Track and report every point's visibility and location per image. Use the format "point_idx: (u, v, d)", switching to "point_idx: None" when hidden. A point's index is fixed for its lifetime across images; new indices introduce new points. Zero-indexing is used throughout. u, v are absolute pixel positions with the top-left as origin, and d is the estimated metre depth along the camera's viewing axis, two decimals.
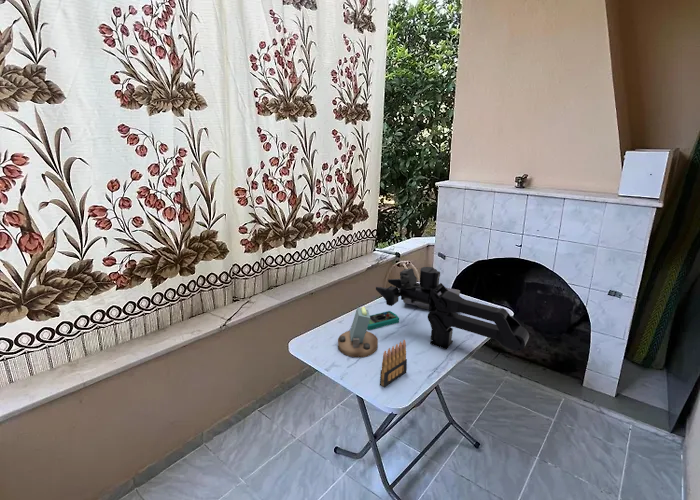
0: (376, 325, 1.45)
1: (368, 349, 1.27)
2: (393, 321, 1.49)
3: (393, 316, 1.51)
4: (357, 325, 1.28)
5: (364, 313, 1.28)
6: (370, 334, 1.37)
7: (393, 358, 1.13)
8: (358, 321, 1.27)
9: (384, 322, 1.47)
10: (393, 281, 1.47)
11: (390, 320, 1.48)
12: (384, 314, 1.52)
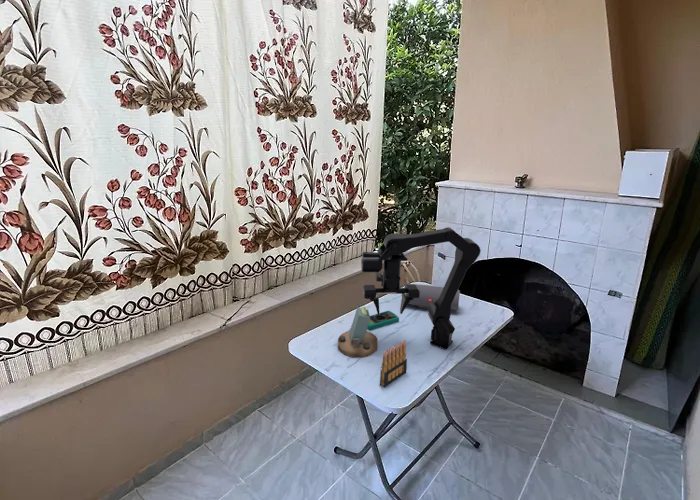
0: (377, 325, 1.45)
1: (368, 349, 1.27)
2: (393, 321, 1.49)
3: (393, 316, 1.51)
4: (357, 325, 1.28)
5: (364, 313, 1.28)
6: (370, 334, 1.37)
7: (393, 358, 1.13)
8: (358, 321, 1.27)
9: (384, 322, 1.47)
10: (400, 307, 1.31)
11: (390, 320, 1.48)
12: (383, 314, 1.53)
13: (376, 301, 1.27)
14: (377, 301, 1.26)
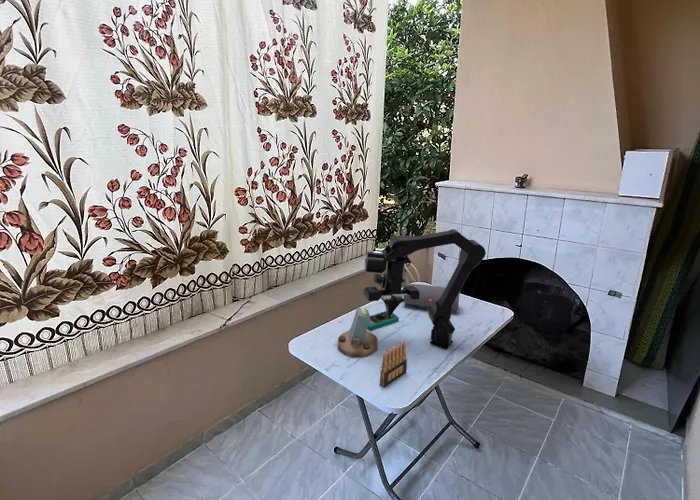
0: (377, 325, 1.45)
1: (368, 349, 1.27)
2: (393, 320, 1.49)
3: (392, 315, 1.51)
4: (357, 325, 1.28)
5: (364, 313, 1.28)
6: (370, 334, 1.37)
7: (393, 358, 1.13)
8: (358, 321, 1.27)
9: (384, 322, 1.47)
10: None
11: (390, 320, 1.48)
12: (383, 314, 1.53)
13: (390, 303, 1.27)
14: (391, 303, 1.27)
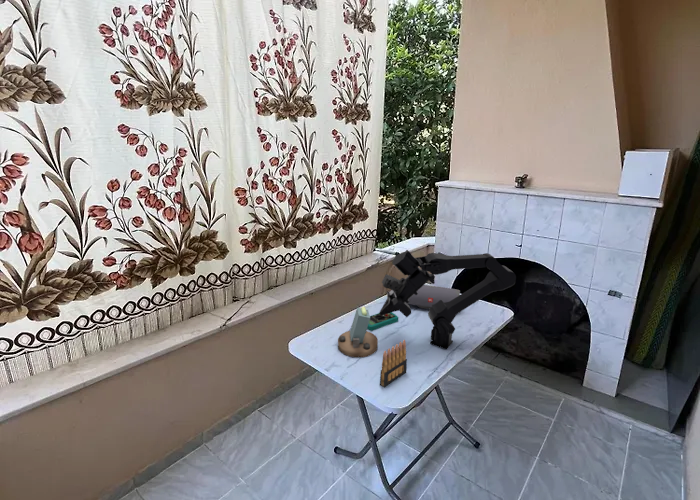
0: (377, 325, 1.45)
1: (368, 349, 1.27)
2: (393, 320, 1.49)
3: (392, 315, 1.51)
4: (357, 325, 1.28)
5: (364, 313, 1.28)
6: (370, 334, 1.37)
7: (393, 358, 1.13)
8: (358, 321, 1.27)
9: (385, 322, 1.47)
10: None
11: (390, 320, 1.49)
12: None
13: None
14: None
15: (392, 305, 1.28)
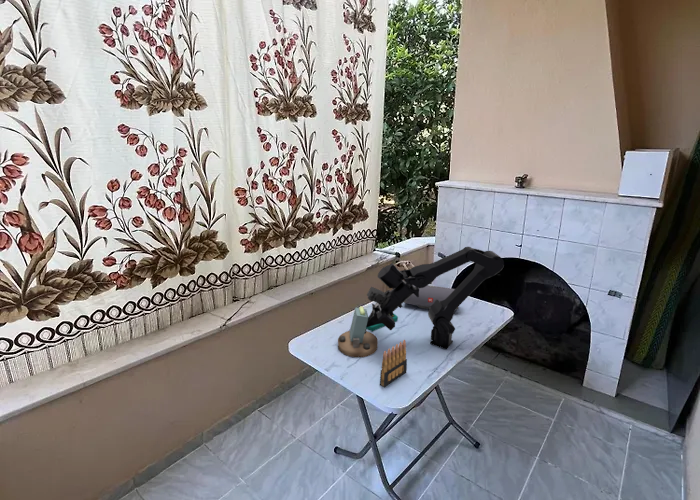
0: (378, 326, 1.45)
1: (368, 349, 1.27)
2: None
3: None
4: (356, 325, 1.28)
5: (362, 313, 1.28)
6: (370, 334, 1.37)
7: (393, 358, 1.13)
8: (356, 321, 1.27)
9: None
10: None
11: None
12: None
13: None
14: None
15: (377, 317, 1.29)
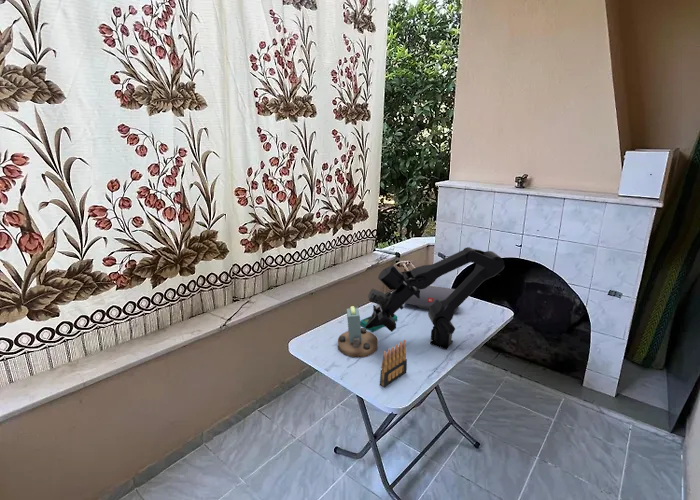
0: (379, 326, 1.45)
1: (368, 349, 1.27)
2: None
3: None
4: (350, 326, 1.28)
5: (353, 312, 1.27)
6: (370, 334, 1.37)
7: (393, 358, 1.13)
8: (349, 322, 1.27)
9: None
10: None
11: None
12: None
13: None
14: None
15: (378, 319, 1.30)
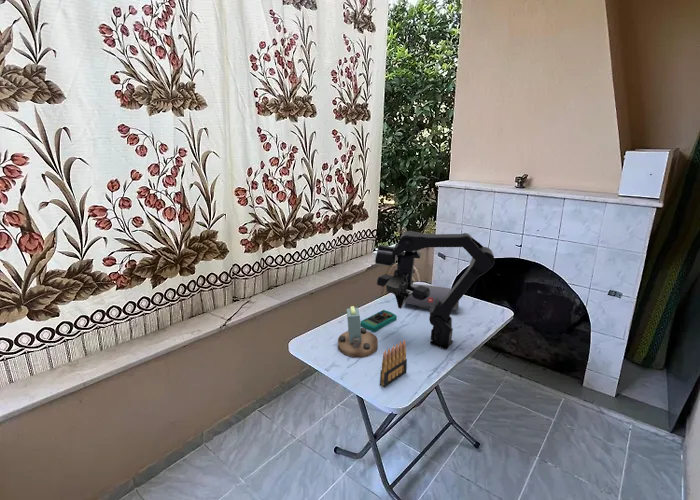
0: (379, 326, 1.45)
1: (368, 349, 1.27)
2: (392, 319, 1.50)
3: (390, 314, 1.52)
4: (350, 326, 1.28)
5: (353, 312, 1.27)
6: (370, 334, 1.37)
7: (393, 358, 1.13)
8: (349, 322, 1.27)
9: (385, 321, 1.47)
10: None
11: (390, 319, 1.49)
12: (380, 314, 1.53)
13: None
14: None
15: None
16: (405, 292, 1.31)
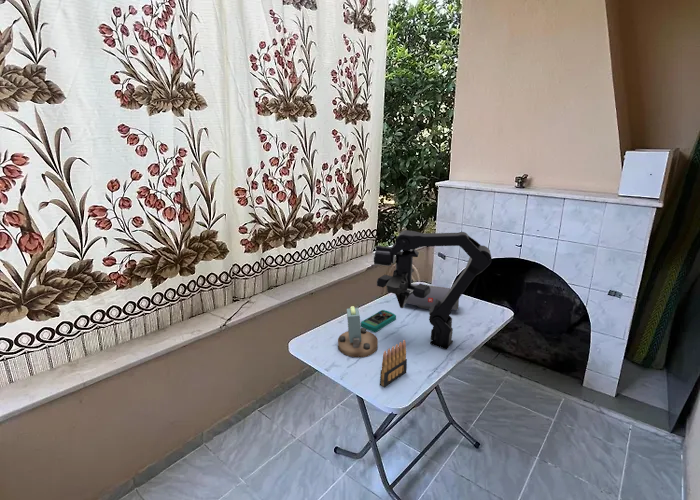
0: (380, 326, 1.45)
1: (368, 349, 1.27)
2: (392, 319, 1.50)
3: (389, 314, 1.52)
4: (350, 326, 1.28)
5: (353, 312, 1.27)
6: (370, 334, 1.37)
7: (393, 358, 1.13)
8: (349, 322, 1.27)
9: (385, 321, 1.47)
10: None
11: (390, 318, 1.49)
12: (380, 314, 1.53)
13: None
14: None
15: None
16: (406, 291, 1.32)
